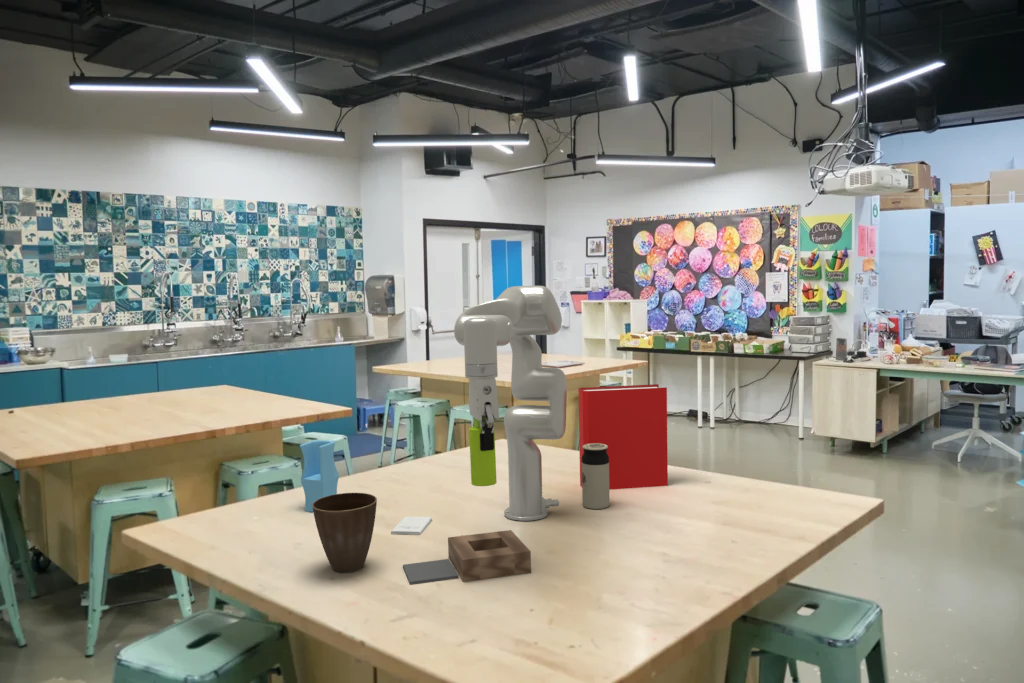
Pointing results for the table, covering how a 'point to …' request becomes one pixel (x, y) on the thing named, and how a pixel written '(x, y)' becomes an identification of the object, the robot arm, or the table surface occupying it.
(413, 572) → the rubber mat
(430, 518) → the external hard drive
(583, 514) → the table surface
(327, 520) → the plant pot
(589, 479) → the travel mug
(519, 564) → the socket block
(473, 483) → the soap dispenser
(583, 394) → the book
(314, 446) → the light blue angular piece
